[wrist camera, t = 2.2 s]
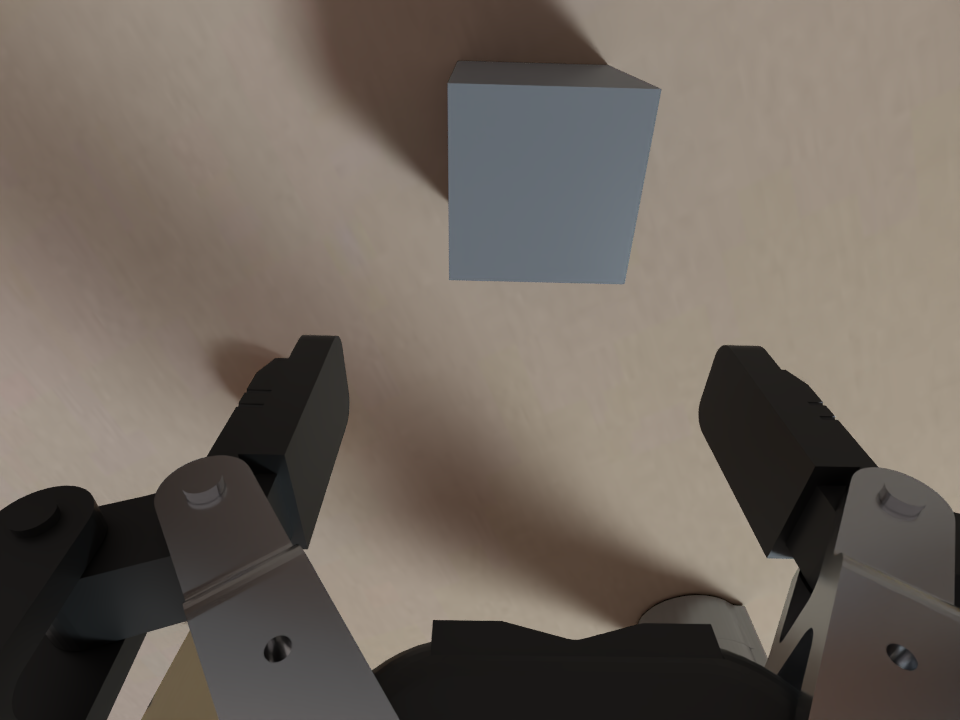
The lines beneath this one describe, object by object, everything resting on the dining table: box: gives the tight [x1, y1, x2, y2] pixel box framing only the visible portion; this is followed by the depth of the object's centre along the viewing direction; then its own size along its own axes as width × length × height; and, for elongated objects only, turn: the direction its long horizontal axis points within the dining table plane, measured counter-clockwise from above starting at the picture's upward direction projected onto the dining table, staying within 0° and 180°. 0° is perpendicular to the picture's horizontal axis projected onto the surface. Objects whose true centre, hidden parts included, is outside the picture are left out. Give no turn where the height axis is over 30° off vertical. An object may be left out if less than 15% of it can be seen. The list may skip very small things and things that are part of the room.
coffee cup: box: [141, 631, 219, 720], centre depth 45 cm, size 9×9×12 cm
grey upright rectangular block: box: [448, 61, 661, 284], centre depth 23 cm, size 7×7×9 cm
